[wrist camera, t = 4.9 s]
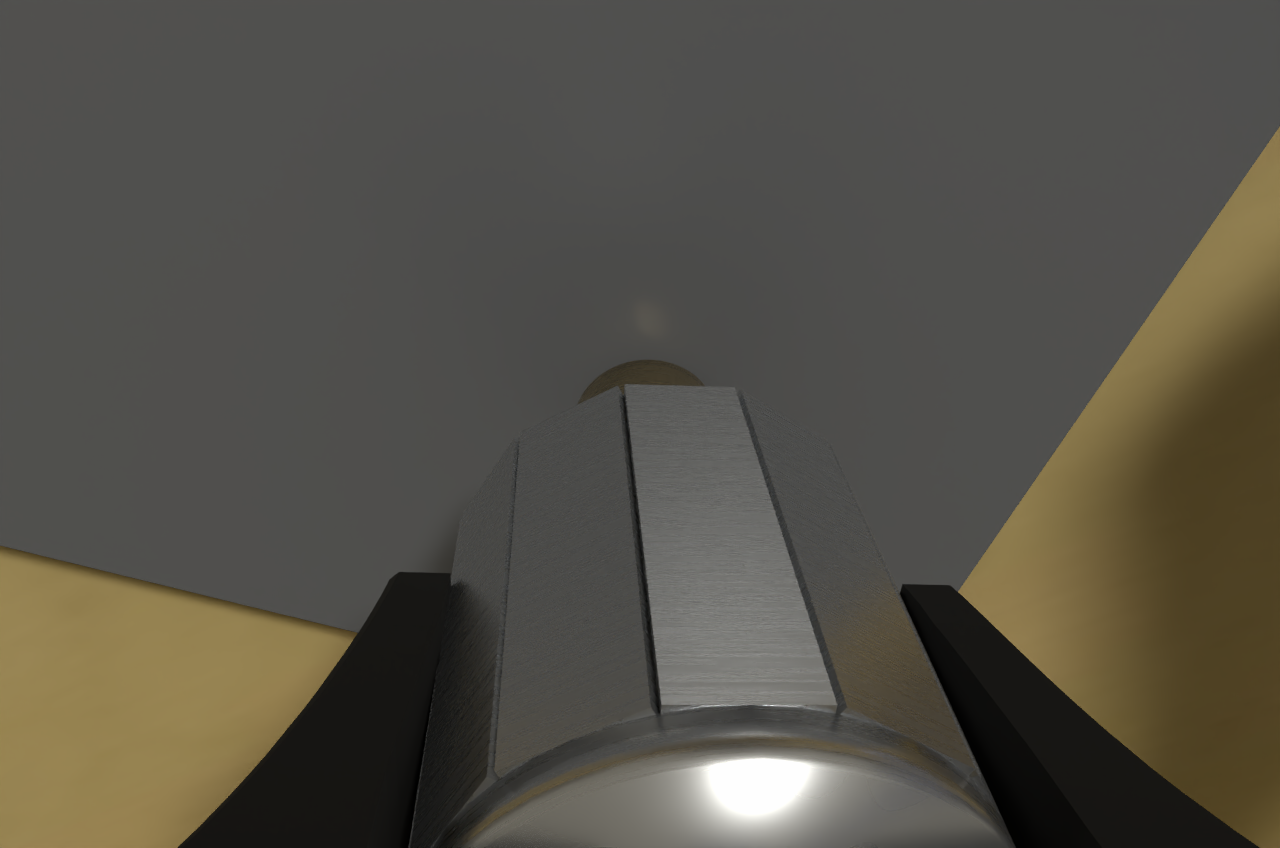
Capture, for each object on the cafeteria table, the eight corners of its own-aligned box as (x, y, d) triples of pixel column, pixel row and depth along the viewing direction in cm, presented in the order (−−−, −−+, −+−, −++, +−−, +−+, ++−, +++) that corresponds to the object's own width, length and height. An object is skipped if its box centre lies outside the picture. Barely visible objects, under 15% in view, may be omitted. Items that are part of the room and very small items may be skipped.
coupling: (894, 391, 13) (1125, 764, 8) (828, 711, 15) (965, 1155, 10) (456, 379, 12) (376, 768, 7) (464, 711, 15) (411, 1175, 10)
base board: (1535, -330, 13) (1602, -341, 12) (836, 716, 22) (846, 751, 21) (-174, -1439, 9) (-256, -1583, 8) (-187, 457, 18) (-225, 490, 17)
